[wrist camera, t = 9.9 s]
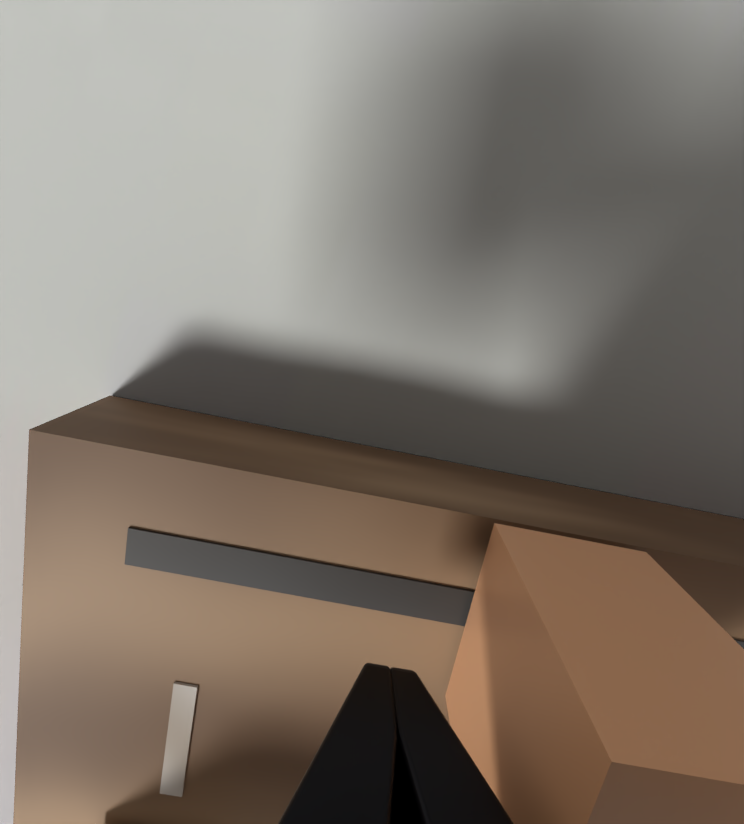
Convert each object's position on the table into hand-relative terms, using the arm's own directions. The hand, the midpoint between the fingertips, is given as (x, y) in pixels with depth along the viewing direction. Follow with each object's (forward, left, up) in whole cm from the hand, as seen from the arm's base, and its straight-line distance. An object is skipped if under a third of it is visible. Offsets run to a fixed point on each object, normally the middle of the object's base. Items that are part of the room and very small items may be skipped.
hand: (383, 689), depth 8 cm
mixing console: (-4, -4, -5) cm, 8 cm away
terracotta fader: (0, -3, -2) cm, 4 cm away
